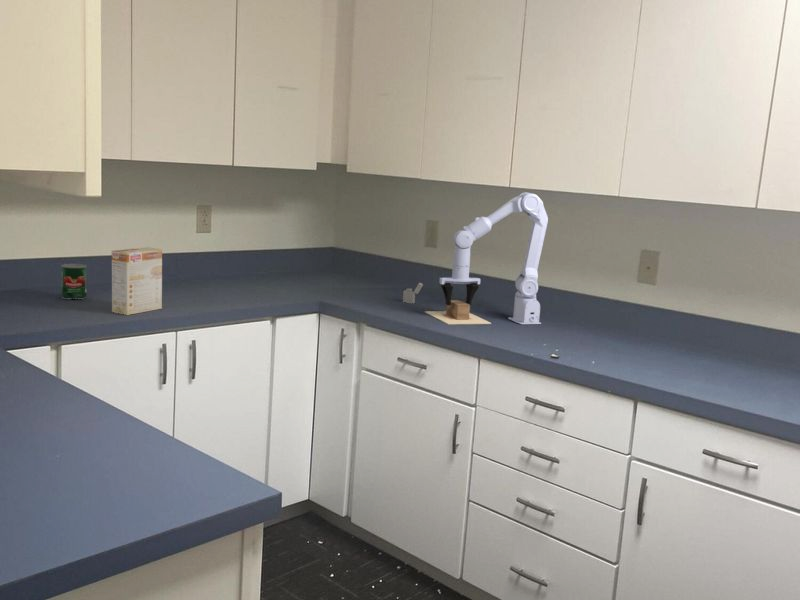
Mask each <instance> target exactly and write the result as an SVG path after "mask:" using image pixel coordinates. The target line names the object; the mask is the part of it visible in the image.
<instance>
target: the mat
mask: <svg viewBox="0 0 800 600" xmlns="http://www.w3.org/2000/svg"><path fill="white" fill-rule="evenodd" d="M424 313H425V314H427V315H429V316H431V317H433V318H434V319H436V320H438V321H440V322H442V323H444V324H445V325H492V322H491V321H488V320H486V319H483V318H481V317H479V316H477V315H475V314H473V313H471V312H469V319H467V320H457V319H455V318H453V317H451V316H449V315H447V314H446V310H441V311H440V310H439V311H436V310H435V311H433V310H432V311H427V310H426V311H425V310H424Z"/></svg>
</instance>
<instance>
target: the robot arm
mask: <svg viewBox="0 0 800 600" xmlns="http://www.w3.org/2000/svg"><path fill="white" fill-rule="evenodd" d="M522 212H523V213H525V214H526V215H527V217H528V218H529V219H530V221H531V227H530V230H529V231H530V232H529V237H528V240H527V241H528V242H527V246H526V251H525V254H524V255H525V257H524V261H523V265H522V268H521V269H520V271H519V276H518V277H517V278H516V280H515V282H514V285H515V289H516V290H517V291H516V292H515V294H514V304H513V315H512V317H507V319H508V320H510V321H512V322H514V323H518V324H519V325H542V322H540V315H541V304H540V302H539V301H538V300H537V293H538V291H539V284H538V279H539V273H538V268H539V264H540V259H541V256H542V250H543V247H544V246H543V245H544V240H545V237H546V232H547V227H548V222H549V218H548V217H549V216H548V213H547V211H546V209H545V206H544V202H543V200H542V199H541V198H540V197H539V196H538V195H537V194H535V193H531V192H522V193H521V194H519V195H518V196H515V197H513V198H511V199H510V200H508V201H507V202H506V203H504V204H503V205H502V206H500V207H499V208H497V209H496V210H494V211H493V212H492V213H491V214H489V215H488V216H480V217H478V216H476V217H474V221H472V222H471V223H470V224H468V225H464V226H463V227H462V228H463V229H459V230H458V231H457V232H455V234H454V237H453V239H452V240H453V242H454V246H453V247H454V248H453V249H454V250H453V256H452V257H453V258H452V259H453V261H452V273H451V276H449V277H439V282H438V283H439V284H440V287H441V289H442V290H443V291H442V292H443V295H444V298H445V304H446V306H447V305H450V304H451V300H452V293H453V289H454V287H453V286H452V285H465V286H466V287H465V288H466V300H465V303H467V304H469V305H470V306H471V305H472V301H473V298H474V296H475V294H476V292H477V291H478V289H479V285H481V278H479V277H470V269H471V268H470V266H471V265H470V264H471V246H472V245H473V243H474V241H478V240H479V239H481V237H483V236H485V235H486V234H488V233H489V232H491V231H492V226H493V225H494V224H496V223H498V222H499V221H501V220H502V219H504V218H505V217H507V216H508V215H509V216H510V214H512V213H522Z"/></svg>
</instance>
